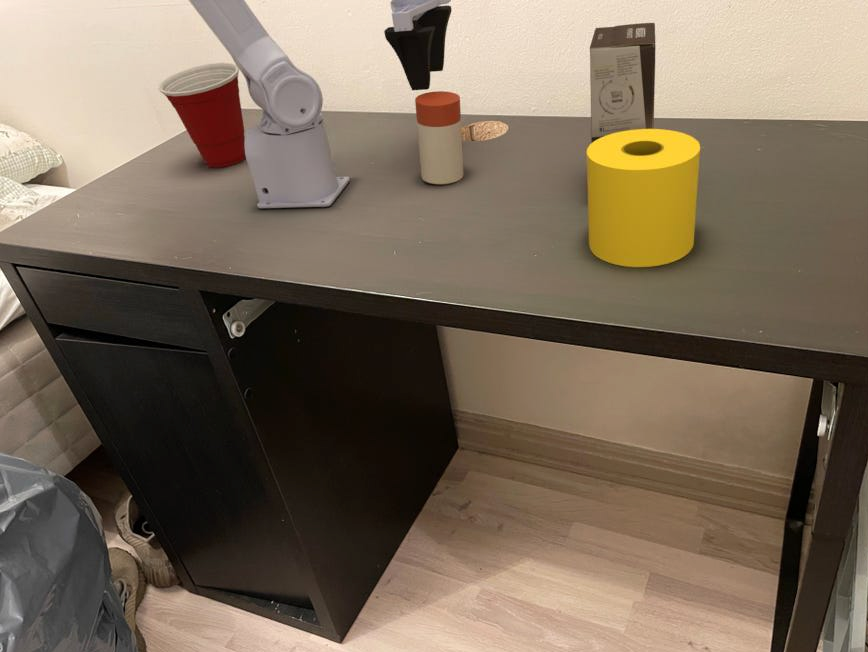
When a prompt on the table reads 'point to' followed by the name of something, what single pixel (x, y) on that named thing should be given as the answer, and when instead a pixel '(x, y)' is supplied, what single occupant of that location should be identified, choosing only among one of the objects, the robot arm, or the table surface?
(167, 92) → the plastic cup
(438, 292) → the table surface
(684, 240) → the yellow paper roll
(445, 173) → the container
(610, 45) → the coffee box
